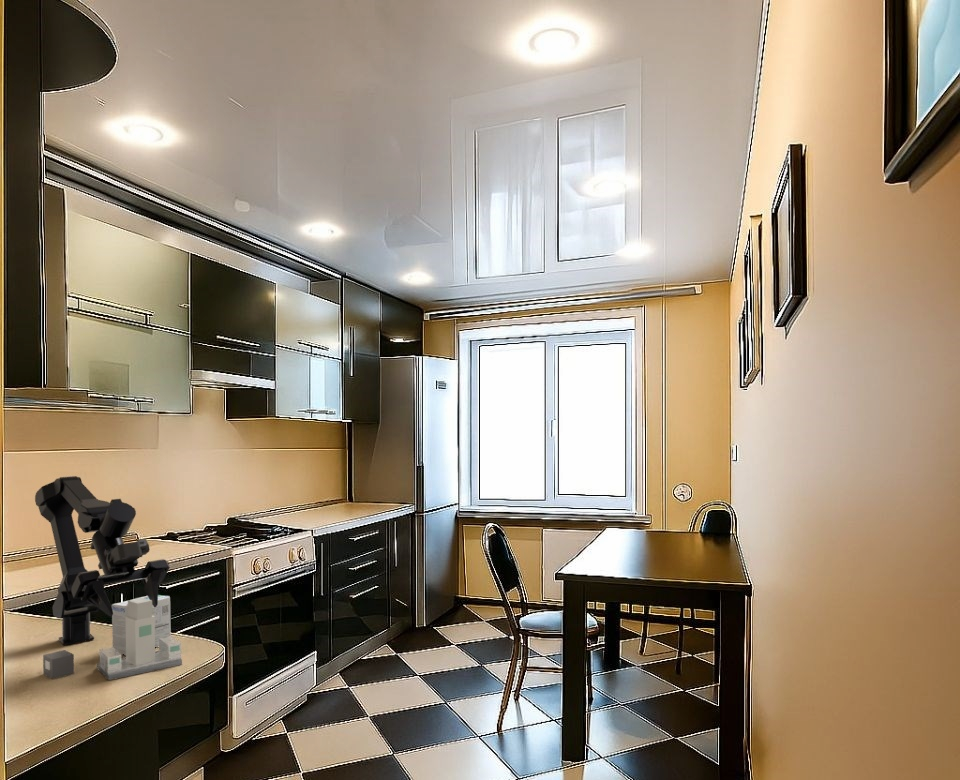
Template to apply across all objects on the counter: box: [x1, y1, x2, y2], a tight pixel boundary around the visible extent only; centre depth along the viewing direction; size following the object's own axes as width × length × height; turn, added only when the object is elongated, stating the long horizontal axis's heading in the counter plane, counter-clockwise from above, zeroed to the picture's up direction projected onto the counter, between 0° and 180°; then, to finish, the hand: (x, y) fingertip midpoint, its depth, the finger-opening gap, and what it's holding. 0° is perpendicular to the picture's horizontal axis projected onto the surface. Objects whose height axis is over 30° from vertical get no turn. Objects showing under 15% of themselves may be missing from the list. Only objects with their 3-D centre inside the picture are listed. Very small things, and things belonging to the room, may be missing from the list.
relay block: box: [42, 649, 75, 680], centre depth 151 cm, size 5×4×4 cm
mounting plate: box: [96, 635, 183, 681], centre depth 155 cm, size 10×14×4 cm
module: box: [125, 597, 156, 665], centre depth 154 cm, size 5×4×12 cm
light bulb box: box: [111, 594, 172, 656], centre depth 168 cm, size 11×7×11 cm, turn 149°
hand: (134, 610), depth 156 cm, fingers open, 9 cm apart
